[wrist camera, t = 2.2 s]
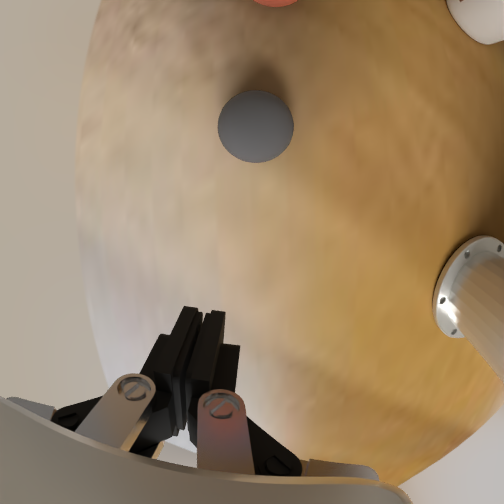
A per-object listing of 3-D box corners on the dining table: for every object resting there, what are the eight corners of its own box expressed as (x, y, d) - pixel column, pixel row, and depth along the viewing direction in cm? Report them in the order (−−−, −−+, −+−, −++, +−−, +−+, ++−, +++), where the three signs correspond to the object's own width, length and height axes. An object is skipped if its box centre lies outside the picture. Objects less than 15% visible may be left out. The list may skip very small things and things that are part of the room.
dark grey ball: (285, 94, 21) (290, 77, 16) (295, 157, 23) (303, 157, 17) (219, 104, 21) (205, 90, 16) (229, 166, 23) (218, 169, 18)
